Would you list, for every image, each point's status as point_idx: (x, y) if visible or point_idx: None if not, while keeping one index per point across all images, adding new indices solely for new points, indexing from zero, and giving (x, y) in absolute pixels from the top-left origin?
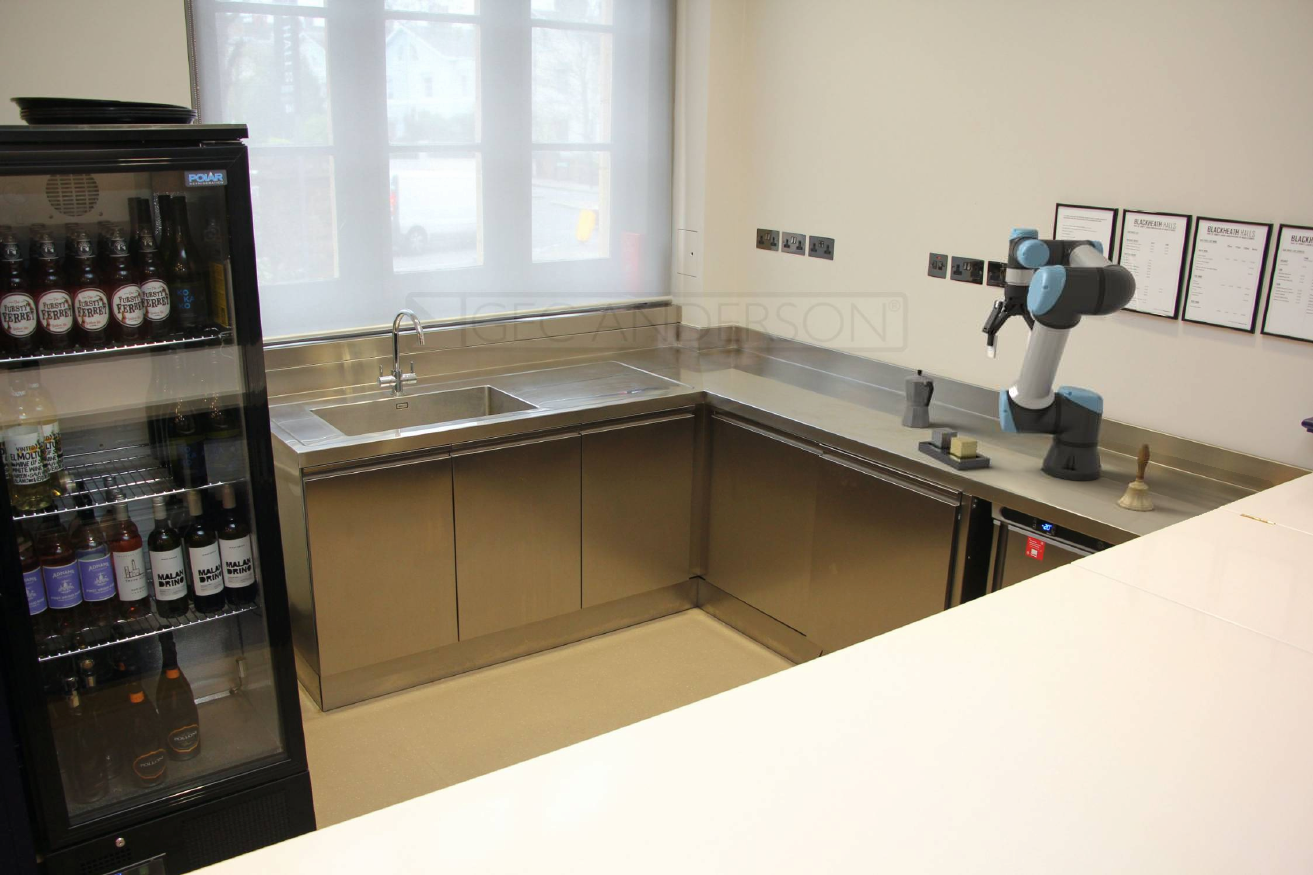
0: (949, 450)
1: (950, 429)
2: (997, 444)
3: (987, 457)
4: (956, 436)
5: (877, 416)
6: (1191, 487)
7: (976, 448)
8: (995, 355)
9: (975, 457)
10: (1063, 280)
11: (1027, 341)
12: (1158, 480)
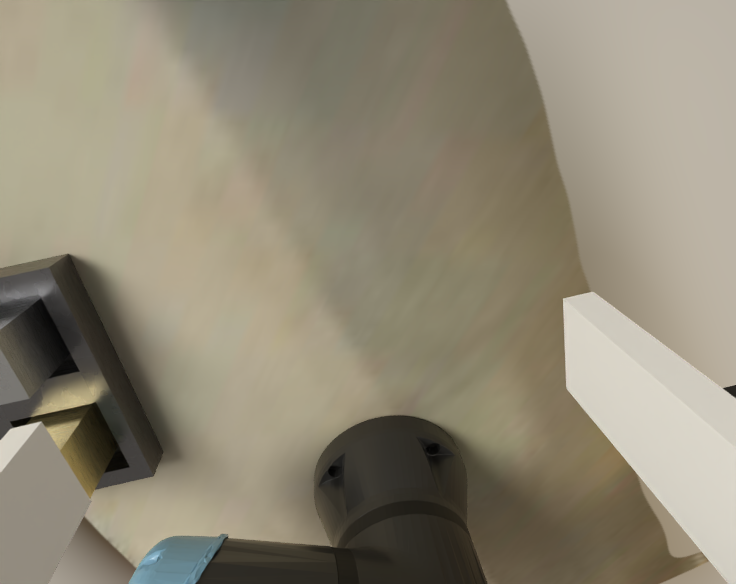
0: (27, 399)
1: (3, 365)
2: (293, 202)
3: (148, 465)
4: (37, 388)
5: None
6: (595, 555)
7: (98, 479)
8: (76, 523)
9: (110, 457)
10: None
11: (662, 390)
12: (562, 520)
